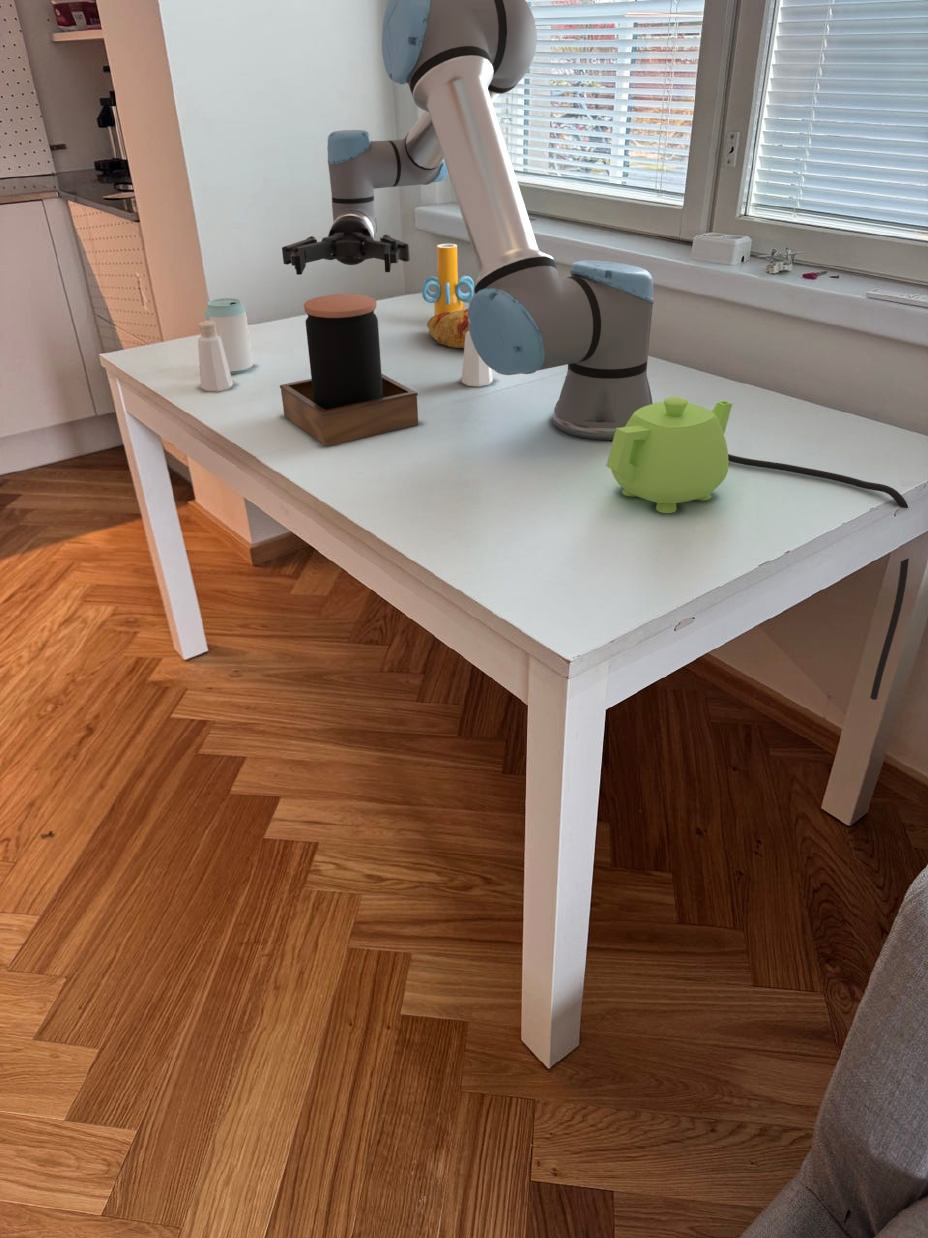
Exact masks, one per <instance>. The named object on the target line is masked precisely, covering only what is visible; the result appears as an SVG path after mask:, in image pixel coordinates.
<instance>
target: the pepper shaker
mask: <svg viewBox="0 0 928 1238" xmlns="http://www.w3.org/2000/svg"><path fill="white" fill-rule="evenodd" d="M468 322H470V319H469V318H468ZM462 359H463V361H462V371H461V372H462V374H461V383H462V384H463V385H466V386H467V387H476V388H477V387H478V388H480V387H485V386H489V385H490V384H491V383H492V382H493V381H494V380H493V369H491V368H489V367H488V366H487V365H486V364H485V363H484V361H483V360H482V359H481V357H480V356H479V354H478V353H477V351H476V349H475V347H474V344H473V342H472V339H471V336H470V332H469V331H468V332H467V333H466V335H465V345H464V348H463V358H462Z"/></svg>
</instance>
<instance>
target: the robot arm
mask: <svg viewBox="0 0 928 1238" xmlns="http://www.w3.org/2000/svg"><path fill="white" fill-rule="evenodd" d="M530 7H531V6H530V5H529V3H528V2H527V1H526V0H387V3H386V6H385V10H384V14H383V20H382V29H381V54H382V61H383V65H384V68H385V71H386V74H387V76H388V78H389V79H390V80H391V81H393V82H394V83H396V84H399V85H405V84H407V86H408V88H409V91H410V93H411V96H412V100H413V102H414V104H415V105H416V107H418V108H419V109H421V110H423V112H422V113H421V114H420V116H419V117H418V119H417V120H416V121H415V124H414V125H413V126H412V127H411V129H409V131H408V133H407V134H406V135H405V136H404V138H401V139H390V140H371V139H372V138H371V135H370V133H369V131H367V130H363V129H343V130H335V131H332V132H331V133H330V134H329V135H328V136H327V145H326V147H327V148H326V149H327V164H328V174H329V183H330V192H331V211H332V221H333V222H332V225H331V227H330V230H329V231H328V235H327V236H324V237H322V239H321V241H318V238H316V237H315V236H313V235H311V236H308V237H307V238H306V239H303V240H300V241H297V242H294V243H291V244H288V245H285V246H281V253H282V263H283V264H284V265H286V266H287V265H290V264H291V266H293V267H294V270H295V272H296V275H297V276H300V275H303V272H304V271H305V268H306V267H307V264H308V263H311V262H312V263H313V262H317V261H320V260H326V261H333V260H336V261H338V262H340V263H341V264H343V265H347V266H357V265H359V264H362V263H364V262H365V261H366V260H371V259H377V260H382V261H384V272H385V273H391V269H392V268H391V267H392V264H398V263H399V260H400V261H402V262H405V263H406V262H410V258H411V257H410V244H409V243H407V242H404V241H401V240H399V239H395V238H393V237H391V236H390V234H384V235H382V236H380V237H379V240H375V237H376V234H377V233H378V225H377V224H378V223H377V217H376V215H375V214H376V212H375V190H376V189H384V188H396V187H406V186H407V187H408V186H419V185H422V186H424V185H425V186H427V185H430V184H433V183H439V182H442V181H444V180H445V178H446V177H447V176H449V179H450V183H451V185H452V189H453V193H454V195H455V198H456V202H457V204H458V207H459V211H460V214H461V217H462V220H463V224H464V227H465V229H466V233H467V236H468V239H469V241H470V246H471V249H472V252H473V255H474V259H475V262H476V264H477V267H478V270H479V275H478V277H477V279H476V281H475V282H474V290H473V292H474V294H473V297H472V299H471V300H470V301H469V305H468V307H467V308H468V318H469V319H470V322H469V323H468V326H469V332H470V336H471V339H472V342H473V344H474V347H475V349H476V351H477V353H478V354H479V356H480V357H481V359H482V360H483V361H484V363H485V364H486V365H487V366H488V367H489V368H491V369H492V371H495V373H497V374H499V375H504V376H515V375H531V374H535V373H536V372H538V371H544V370H548V369H552V368H557V367H561V366H567V372H566V376H565V379H564V381H563V383H562V387H561V390H560V394H559V397H558V400H557V401H556V403H555V406H554V409H553V423H554V426H555V427H556V428H558V429H559V430H560V431H562V432H564V433H567V434H568V435H571V436H574V437H578V438H583V439H590V440H603V441H606V440H607V441H609V440H610V441H611V440H612V441H613V438H614V435H615V431H616V428H621V427H625V426H626V424H627V422H628V421H629V419H630V418H631V416H632V415H633V413H634V412H635V411H637V410H638V409H640V408H642V407H645V406H647V405H650V404H654V403H653V397H652V392H651V387H650V383H649V378H648V373H647V370H648V358H649V350H650V349H649V347H650V336H651V326H652V318H653V317H652V316H653V315H652V314H653V305H654V304H655V299H654V278H653V275H652V274H651V273H650V272H649V271H648V270H647V269H645V268H643V267H640V266H636V265H631V264H626V263H622V262H621V263H620V262H613V261H603V260H578V261H577V260H576V261H575V262H573V263H572V265H571V269H569V273H570V276H567V277H560V275H559V274H560V273H559V271H558V268H557V265H556V262H555V259H554V257H553V256H552V255H549V254H547V253H545V252H543V251H540V249H539V246H538V242H537V240H536V237H535V233H534V230H533V227H532V223H531V221H530V218H529V214H528V212H527V208H526V204H525V202H524V197H523V195H522V193H521V189H520V185H519V183H518V179H517V176H516V173H515V170H514V167H513V163H512V161H511V158H510V155H509V152H508V149H507V145H506V141H505V139H504V136H503V132H502V129H501V127H500V123H499V120H498V117H497V114H496V110H495V106H494V102H495V100H496V99H497V98H498V97H499V96H500V95H503V94H507V93H509V92H511V91H512V90H514V88H515V87H516V86H517V85H518V84H519V83H520V82H521V81H522V79H523V78H524V77H525V75H526V74H527V72H528V70H529V69H530V67H531V65H532V62H533V60H534V57H535V53H536V48H537V44H538V43H537V42H538V36H537V34H538V33H537V25H536V21H535V20H536V19H535V17H534V15H533V12H532V9H531V8H530ZM728 462H730V463H735V464H740V465H744V466H749V467H756V468H763V469H770V470H777V471H784V472H789V473H793V474H799V475H805V476H810V477H816V478H819V479H820V478H821V479H826V480H829V481H835V482H839V483H843V484H846V485H850V486H853V487H857V488H861V489H865V490H870V491H876V492H881V493H885V494H887V495H889V496H890V497H891V498H892V499H893V501H895V502H896V504H897V505H898V507H900V508H903V509H909V505H908V503H907V501H906V499H905V498H904V497H903V496H902V494H901V493H899V491H898V490H896V489H895V488H893V487H892V486H889V485H886V484H882V483H878V482H877V483H876V482H871V481H866V480H861V479H859V478H855V477H852V476H847V475H844V474H838V473H834V472H830V471H824V470H819V469H815V468H809V467H804V466H798V465H793V464H787V463H781V462H775V461H768V460H767V461H766V460H760V459H753V458H748V457H743V456H737V455H734V454H729V453H728ZM909 561H910V559H909V558H906V559H904V560H901V561H900V566H899V574H898V575H899V577H898V583H897V590H896V594H895V599H894V600H895V601H894V605H893V609H892V613H891V617H890V621H889V622H890V623H889V625H888V628H887V633H886V635H885V639H884V642H883V646H882V649H881V654H880V656H879V661H878V664H877V668H876V671H875V674H874V679H873V684H872V689H871V691H870V692H871V693H870V697H869V698H870V699H871V700H873V701H876V700H878V697H879V692H880V687H881V683H882V680H883V676H884V672H885V668H886V664H887V662H888V661H887V660H888V657H889V653H890V651H891V647H892V643H893V640H894V638H895V637H894V636H895V633H896V630H897V627H898V622H899V620H900V619H899V618H900V615H901V611H902V605H903V601H904V597H905V591H906V590H905V589H906V585H907V578H908V572H909V571H908V569H909Z"/></svg>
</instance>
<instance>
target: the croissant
mask: <svg viewBox="0 0 928 1238" xmlns="http://www.w3.org/2000/svg"><path fill="white" fill-rule="evenodd" d="M468 308H469V307H467V308H463V309H460V310H456V311H454V312H443V313H440V314H438V315H435V314H434V315H433V316H431V317H430V318H429V320H428V322H427V324H426V325H427V329H428V332H429V334H430V336H431V337H432V338H433V339H434V340H435V341H436V343H437V344H441V345H445V346H447V347H449V348H455V349H458V348H460V349H464V345H465V335H466V333H467V332H468V331H469V326H468V323H469V322H468Z"/></svg>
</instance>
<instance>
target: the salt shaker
mask: <svg viewBox="0 0 928 1238" xmlns="http://www.w3.org/2000/svg"><path fill="white" fill-rule="evenodd" d="M197 326H198V328H199V332H200V337H199V338H197V345H198V346H197V347H198V360H199V377H200V388H201V389H202V390H204V391H206V392H215V393H217V392H222V391H227V390H230V389H231V388H232V387H233V386H234V382H233V378H232V374H230V371H229V367H228V363H227V359H226V355H225V351H224V348H223V344H222V340H221V337H219V336H217V333H216V328H215V327H216V323H215V322H214V321H206V320H202V321H200V322H199V323H198V325H197Z"/></svg>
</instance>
